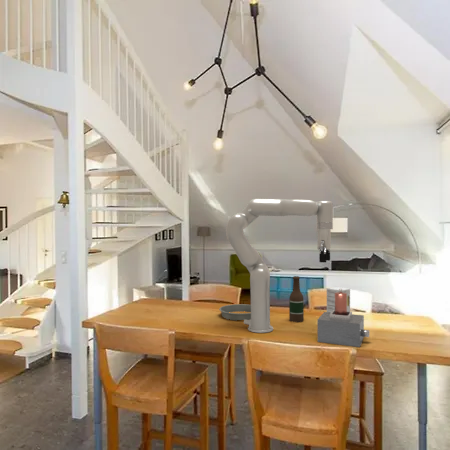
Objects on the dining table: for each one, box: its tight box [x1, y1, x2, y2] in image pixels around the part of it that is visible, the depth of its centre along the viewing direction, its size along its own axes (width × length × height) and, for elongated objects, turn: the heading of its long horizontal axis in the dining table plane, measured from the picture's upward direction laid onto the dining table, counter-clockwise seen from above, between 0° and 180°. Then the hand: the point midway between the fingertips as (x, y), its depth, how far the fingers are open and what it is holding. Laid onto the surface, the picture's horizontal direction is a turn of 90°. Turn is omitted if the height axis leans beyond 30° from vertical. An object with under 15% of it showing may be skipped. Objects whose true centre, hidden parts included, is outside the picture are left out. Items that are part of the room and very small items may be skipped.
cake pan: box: [219, 303, 251, 321], centre depth 220 cm, size 25×25×4 cm
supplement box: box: [326, 286, 351, 312], centre depth 211 cm, size 10×9×17 cm
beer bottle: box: [288, 275, 305, 323], centre depth 208 cm, size 8×8×24 cm
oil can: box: [335, 289, 347, 315], centre depth 175 cm, size 5×5×15 cm
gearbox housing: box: [316, 310, 370, 348], centre depth 174 cm, size 21×16×12 cm
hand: (324, 261), depth 187 cm, fingers open, 9 cm apart
